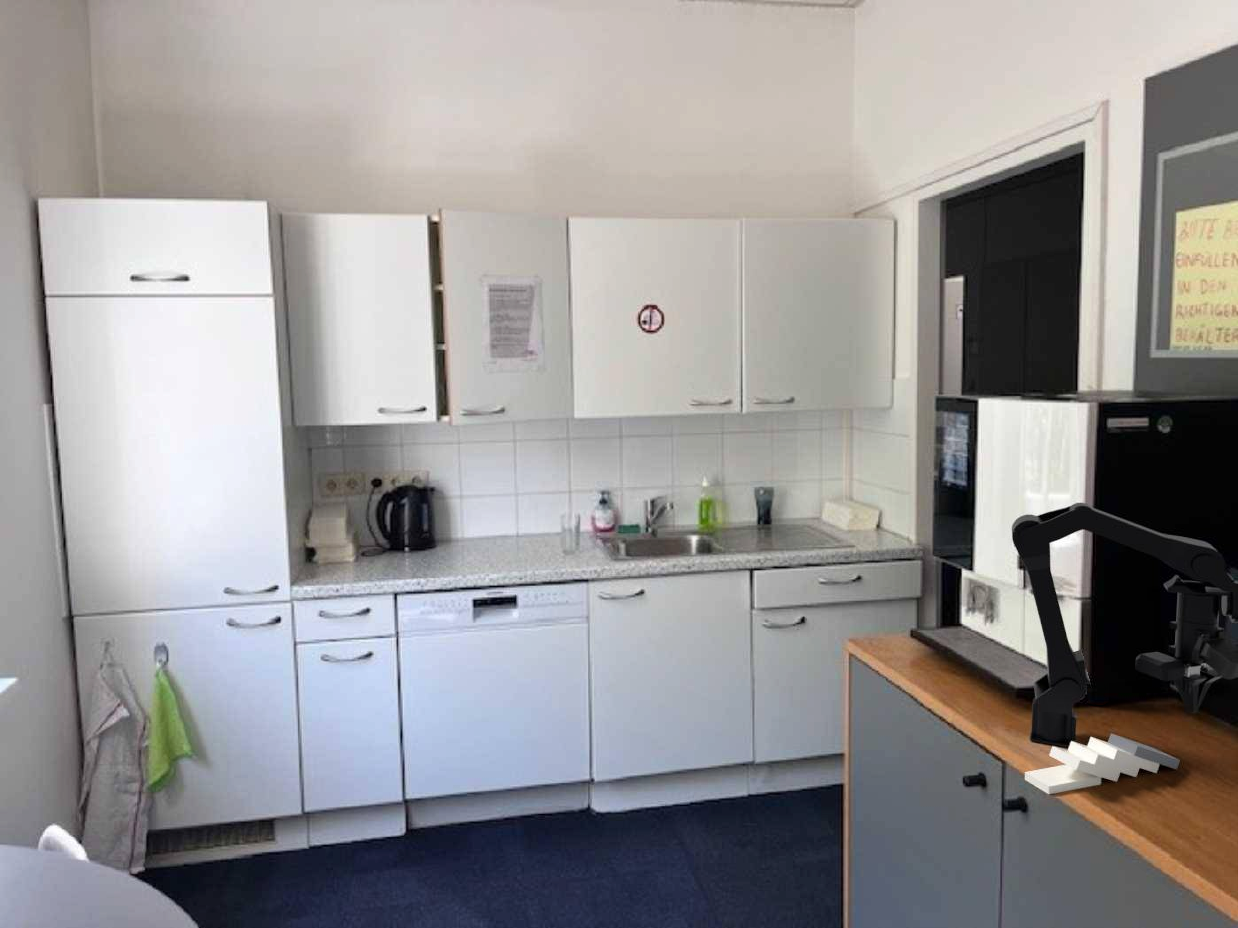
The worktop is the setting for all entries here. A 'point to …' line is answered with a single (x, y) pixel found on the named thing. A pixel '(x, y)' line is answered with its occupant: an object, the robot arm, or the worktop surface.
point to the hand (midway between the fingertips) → (1192, 711)
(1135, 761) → the domino
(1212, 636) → the robot arm
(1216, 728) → the worktop surface
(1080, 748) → the domino
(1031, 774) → the domino
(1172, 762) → the domino
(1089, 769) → the domino
